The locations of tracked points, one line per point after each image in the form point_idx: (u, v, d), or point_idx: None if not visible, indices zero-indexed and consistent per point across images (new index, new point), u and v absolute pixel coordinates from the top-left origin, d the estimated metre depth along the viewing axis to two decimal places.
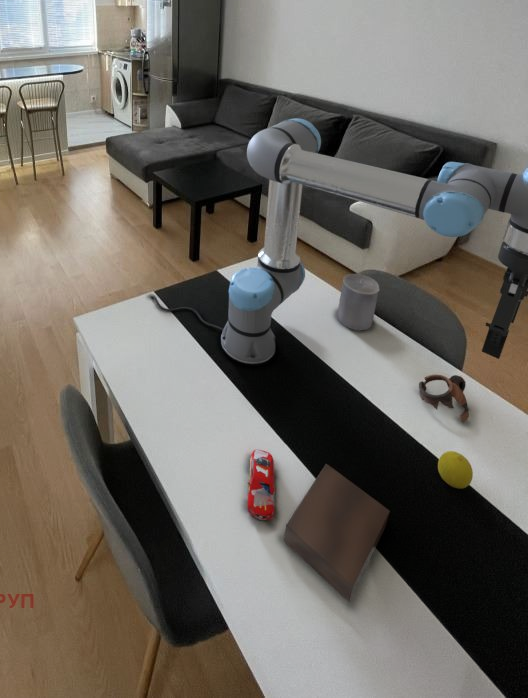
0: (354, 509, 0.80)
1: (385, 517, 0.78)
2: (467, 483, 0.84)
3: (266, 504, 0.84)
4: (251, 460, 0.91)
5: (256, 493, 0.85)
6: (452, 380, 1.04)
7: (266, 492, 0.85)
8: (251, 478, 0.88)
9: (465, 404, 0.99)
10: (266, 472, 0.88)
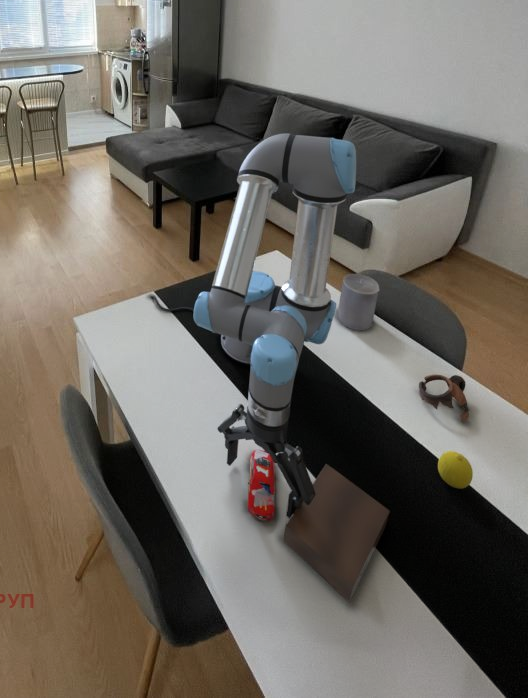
0: (354, 509, 0.80)
1: (385, 517, 0.78)
2: (467, 483, 0.84)
3: (266, 504, 0.84)
4: (251, 460, 0.91)
5: (256, 493, 0.85)
6: (452, 380, 1.04)
7: (266, 492, 0.85)
8: (251, 478, 0.88)
9: (465, 404, 0.99)
10: (266, 472, 0.88)
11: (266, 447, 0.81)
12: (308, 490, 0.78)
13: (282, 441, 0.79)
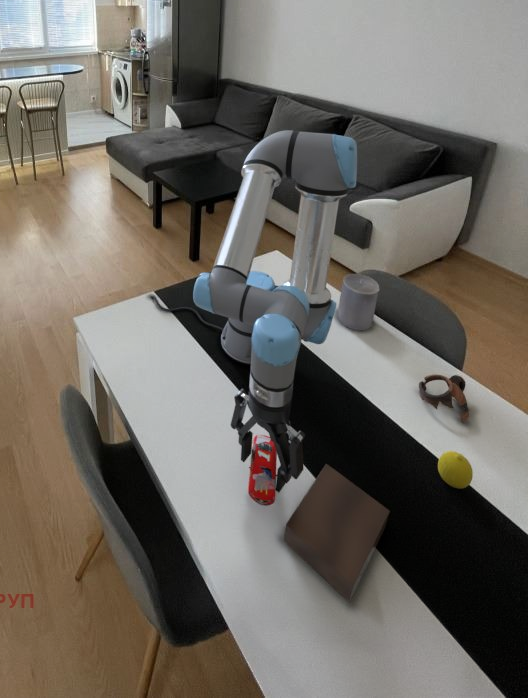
0: (354, 509, 0.80)
1: (385, 517, 0.78)
2: (467, 483, 0.84)
3: (267, 488, 0.82)
4: (253, 445, 0.90)
5: (257, 477, 0.84)
6: (452, 380, 1.04)
7: (267, 477, 0.84)
8: (252, 463, 0.87)
9: (465, 404, 0.99)
10: (268, 457, 0.87)
11: (268, 428, 0.79)
12: (299, 467, 0.78)
13: (285, 422, 0.77)
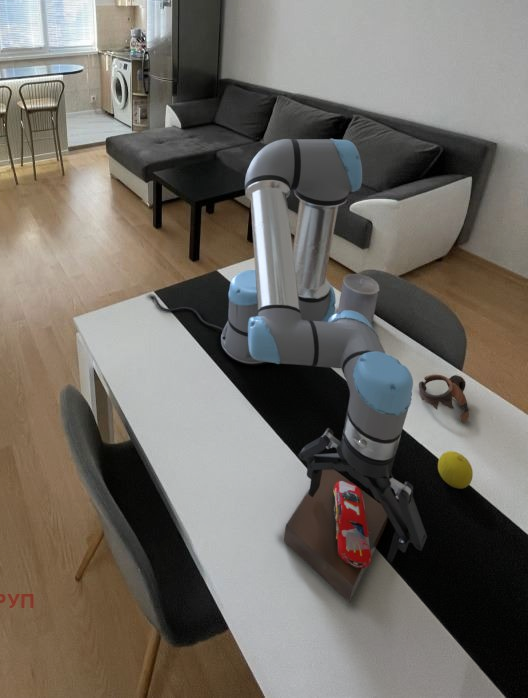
0: None
1: (385, 517, 0.78)
2: (467, 483, 0.84)
3: (361, 548, 0.72)
4: (336, 493, 0.80)
5: (347, 534, 0.74)
6: (452, 380, 1.04)
7: (359, 534, 0.74)
8: (339, 516, 0.76)
9: (465, 404, 0.99)
10: (357, 509, 0.76)
11: (367, 481, 0.69)
12: (420, 533, 0.66)
13: (388, 476, 0.67)
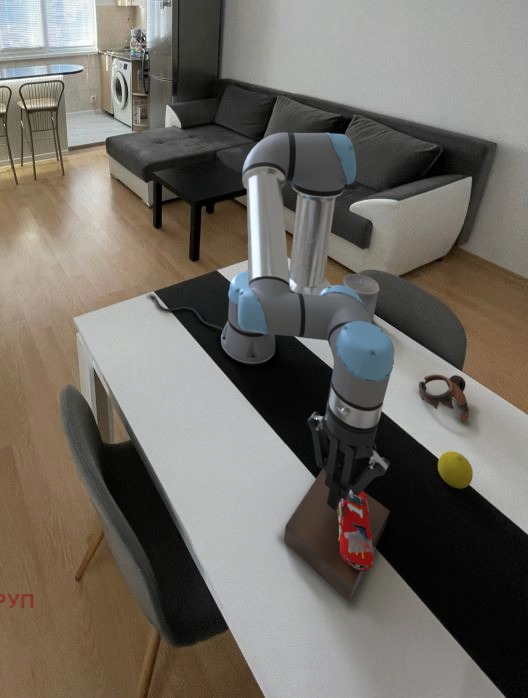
0: None
1: (385, 517, 0.78)
2: (467, 483, 0.84)
3: (363, 551, 0.72)
4: None
5: (350, 536, 0.74)
6: (452, 380, 1.04)
7: (362, 536, 0.73)
8: (342, 518, 0.76)
9: (465, 404, 0.99)
10: (360, 512, 0.76)
11: (349, 451, 0.70)
12: None
13: (371, 445, 0.68)
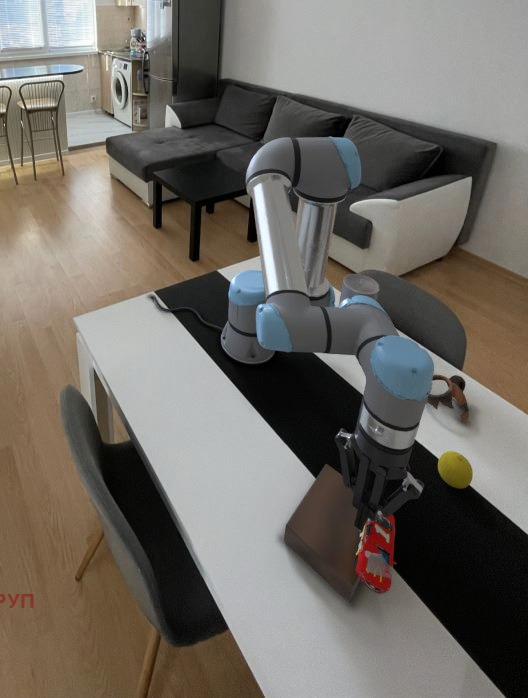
0: (354, 509, 0.80)
1: None
2: (467, 483, 0.84)
3: (382, 575, 0.69)
4: None
5: (371, 557, 0.71)
6: (452, 380, 1.04)
7: (384, 561, 0.70)
8: (365, 536, 0.73)
9: (465, 404, 0.99)
10: (387, 537, 0.73)
11: (381, 471, 0.66)
12: None
13: (405, 466, 0.64)
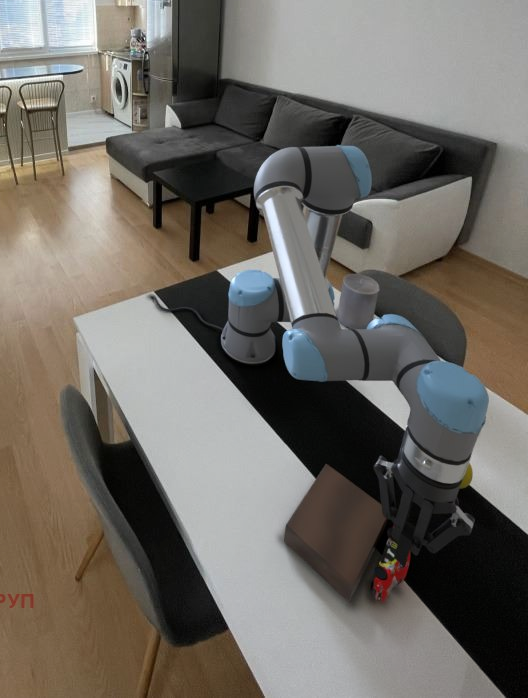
0: (354, 509, 0.80)
1: None
2: (467, 483, 0.84)
3: None
4: None
5: (393, 581, 0.71)
6: None
7: (394, 586, 0.72)
8: (399, 564, 0.72)
9: None
10: (406, 572, 0.73)
11: (427, 505, 0.62)
12: None
13: (454, 500, 0.60)
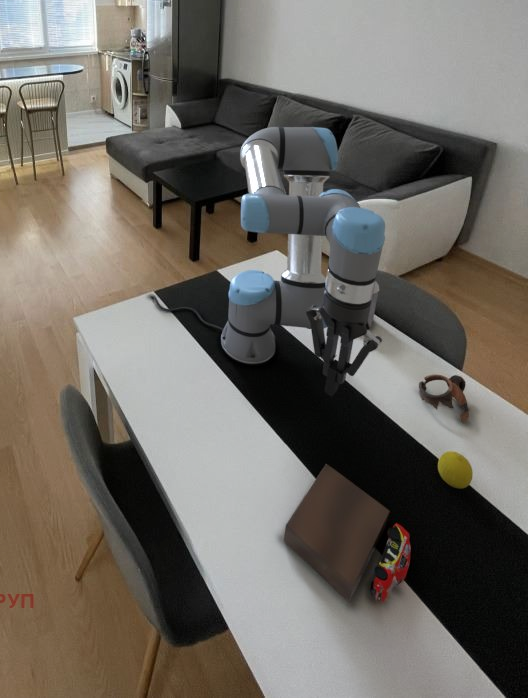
0: (354, 509, 0.80)
1: (385, 517, 0.78)
2: (467, 483, 0.84)
3: None
4: (404, 542, 0.75)
5: (393, 581, 0.71)
6: (452, 380, 1.04)
7: (394, 586, 0.72)
8: (399, 564, 0.72)
9: (465, 404, 0.99)
10: (406, 572, 0.73)
11: (344, 331, 0.76)
12: (359, 367, 0.78)
13: (365, 323, 0.74)
